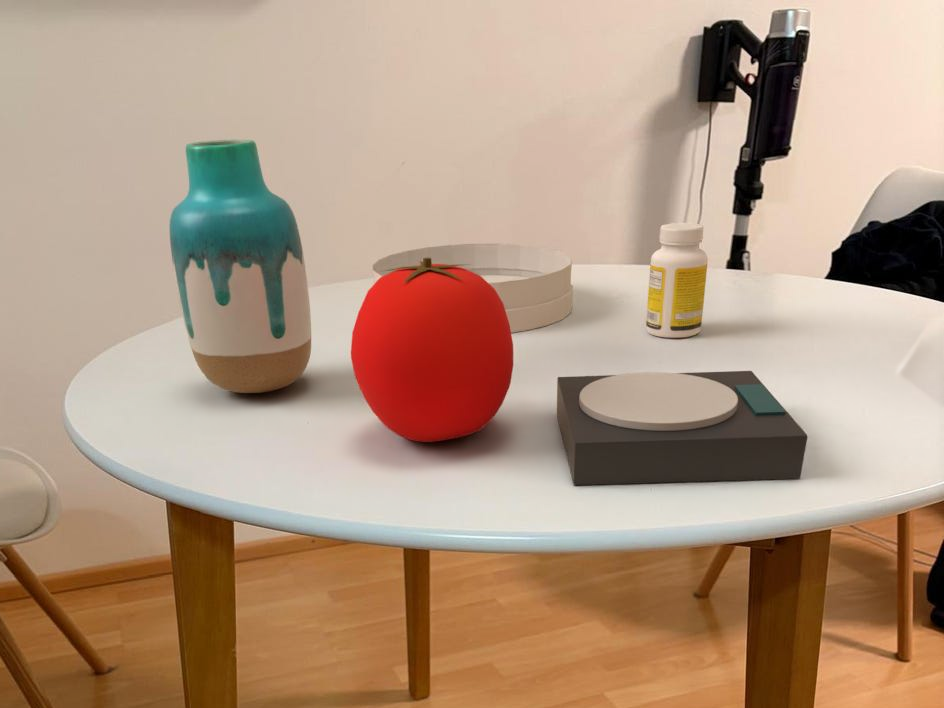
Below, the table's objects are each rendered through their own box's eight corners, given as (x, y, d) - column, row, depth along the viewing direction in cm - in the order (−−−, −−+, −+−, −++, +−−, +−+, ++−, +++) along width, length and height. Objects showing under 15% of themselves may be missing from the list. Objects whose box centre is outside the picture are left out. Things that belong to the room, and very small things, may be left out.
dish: (511, 346, 89) (510, 292, 86) (333, 322, 99) (328, 274, 96) (605, 297, 104) (607, 250, 102) (443, 281, 114) (441, 238, 112)
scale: (746, 408, 72) (752, 362, 70) (800, 478, 60) (809, 426, 58) (556, 414, 72) (557, 368, 70) (573, 485, 60) (575, 433, 59)
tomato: (444, 399, 76) (436, 237, 69) (547, 432, 69) (550, 255, 62) (324, 439, 69) (302, 264, 62) (425, 481, 62) (412, 287, 55)
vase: (304, 364, 86) (275, 133, 76) (332, 397, 78) (303, 142, 67) (190, 380, 83) (143, 142, 72) (206, 416, 75) (155, 152, 64)
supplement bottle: (707, 328, 92) (719, 222, 87) (689, 341, 88) (701, 232, 83) (656, 322, 94) (664, 219, 89) (637, 335, 90) (644, 229, 85)
